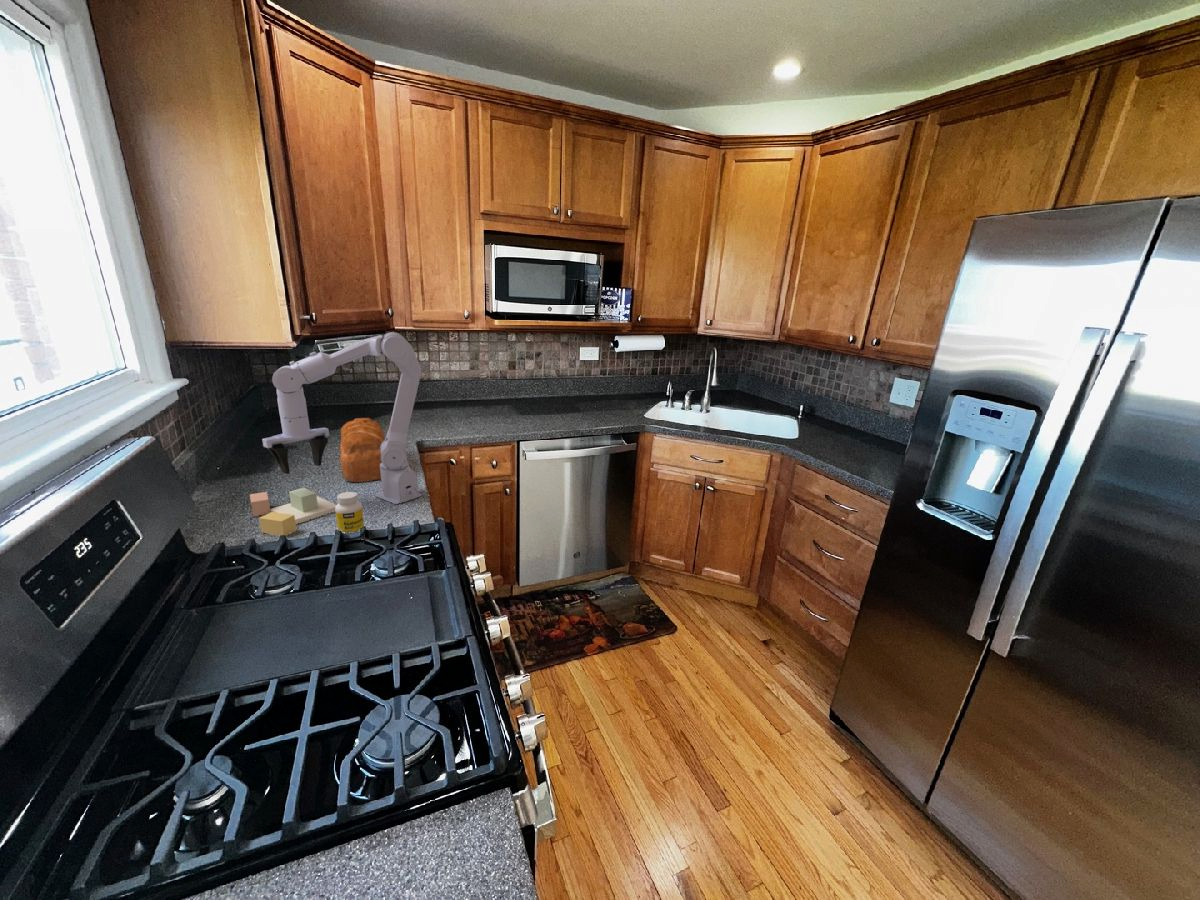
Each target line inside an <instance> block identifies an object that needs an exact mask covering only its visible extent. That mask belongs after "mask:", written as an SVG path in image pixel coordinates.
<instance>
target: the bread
mask: <svg viewBox="0 0 1200 900" xmlns="http://www.w3.org/2000/svg"><path fill="white" fill-rule="evenodd" d="M340 438H341V439H340V445H339V446H340V447H339V452H340V454H339V455H340V467H341V473H342V477H343V478H344V479H345V480H346V481H348V482H349V483H361V482H372V481H373V480H374V481H378V480H379V481H381V473H380V464H381V463H382V461H381V452H380V446H381V443H382V442H383V441H384V440H385V438H386V435H385V433H384V431H383V429H382V427H381V425H380V423H379V422H377V421H376V420H374V419H372V418H370V417H358V418H354V419H353V420H349V421H347V422H346V423H344V424H343V425H342V427H341V429H340Z"/></svg>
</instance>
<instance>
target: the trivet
mask: <svg viewBox="0 0 1200 900" xmlns="http://www.w3.org/2000/svg"><path fill="white" fill-rule="evenodd" d="M316 496H317V503H318V508H316V509H313V510H310V511H307V512H304V513H303V512H301V511H299V510H297V509H295V508H293V507H291V502H290V503H287V504H283V505H279V506H275V507H272V508H270V511H271V512H276V513H283V514H291V515H294V517H295V523H296V525H299V524H302V523H305V522H307V521H311V520H314V519H317V518H319V516H320V517H322V516H321V515H323V516H325V515H324V514H326V515H328V514H327V513H329V514H332V513H335V512H334V511H335V507H336V505H337V504H336V503H333V502H331V501H329V500H328V499H327V500H326V499H325V498H322V497H321V496H318V495H316ZM331 512H332V513H331ZM316 517H317V518H316ZM310 519H311V520H310ZM298 523H299V524H298Z"/></svg>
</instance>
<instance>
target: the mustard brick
mask: <svg viewBox="0 0 1200 900" xmlns="http://www.w3.org/2000/svg"><path fill="white" fill-rule="evenodd" d="M258 522H259V526H260V532H264V533H270V534H276V535H287V536H288V534H289V533H290V532H293V531H294V532H296V531H297V524H296V523H295V517H294V515H291V514H283V513H276V512H271V513H269V514H266V515H262V516H259V517H258ZM295 530H296V531H295ZM294 532H293V533H294ZM289 535H290V534H289Z"/></svg>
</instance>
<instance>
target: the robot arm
mask: <svg viewBox="0 0 1200 900" xmlns="http://www.w3.org/2000/svg"><path fill="white" fill-rule="evenodd" d="M382 353H383V355H384V357H386V358H388V359H389V360H391V362H393V363H395V365H396V367H397V368H398V369H399V371H400V372H401V375H400V377H399V378H400V379H399V383H398V387H397V391H396V396H395V399H394V405H393V410H392V414H391V418H390V423H389V427H388V430H387V432H386V435H385V440H384V441H383V442H382V443H381V446H380V452H381V461H382V463H381V464H380V473H381V479H380V481H381V482H380V484H381V490H382V491H381V492H380V493H377V494H376V495H375V496H376V497H377V498H378V499H382V500H384V501H386V502H389V503H391V502H392V503H391V504H393V505H394V504H395V505H399V503H400V504H402V502H403V503H404V502H405V503H406V502H407V501H412V500H413V499H416V498H419V497H421V496H422V493H419V485H418V483H419V481H418V475H417V473H416V472H415V471H414V470H413V469H411V467H410V465H409V460H408V455H407V454H408V453H407V451H406V446H407V441H408V440H407V439H408V437H407V436H408V433H409V428H410V424H411V418H412V415H413V409H414V406H415V400H416V397H417V394H418V388H419V385H420V380H421V375H422V367H421V364H420V363H419V360H418V357H417V355H416V353H415V350H414V348H413V346H412V345H411V344H410V343H409V342H408V341H407V339H406V338H405V337H404V336H403V335H402V334H401V333H398V332H395V331H391V332H387V333H385V334H384V335H381V334H379V335H376V336H371V337H368V338H365V339H362V340H361V341H358V342H355V343H354V344H352V345H349V346H347V347H345V348H342V349H340V350H338V351H335V352H333V353H331V354H328V353H325V352H322V351H321V352H316V351H313V352H310V353H309V356H307V357H305V358H302V359H300V360H298V361H295V360H292V361H289V365H284V366H281V367H279V368H278V369H277V370H275V372H274V373H273V375H272V377H271V378H272V379H271V380H272V384H273V386H274V388H276V395H277V398H276V399H277V406H278V413H279V417H280V424H281V430H282V433H280V434H276V435H272V436H270V437H265V438H262V439H261V440H262V447H263V448H267V450H268V451H269V452H270V453H271V454H272V456H273V457H274V458H275V460H276V461H277V464H278V465H279V467H280V470H281V473H283V474H286V475H287V474H290V467H289V459H288V458H289V457H288V455H289V448H287V447H285V445H286V444H290V443H291V444H292V443H296V442H301V441H308V442H309V446H310V449H311V455H312V460H313V461H312V462H313V463H314V466H317V467H320V466H322V460H323V456H324V455H323V454H324V451H325V448H326V446H327V445H328V443H329V439H328V437H329V436H330V432H329V430H330V429H329V428H327V427H319V428H313V429H312V428H310V427H311V426H310V422H309V415H308V407H307V401H306V397H305V393H304V387H303V385H310V384H312V383H315V382H317V381H318V382H319V381H320V380H322V379H325V378H327V377H329V376H332V375H334V374H335V373H336V370H337V367H339V366H342V365H345V364H348V363H349V362H352V361H355V360H358V359H361V358H363V357H366V356H374V357H382Z"/></svg>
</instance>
